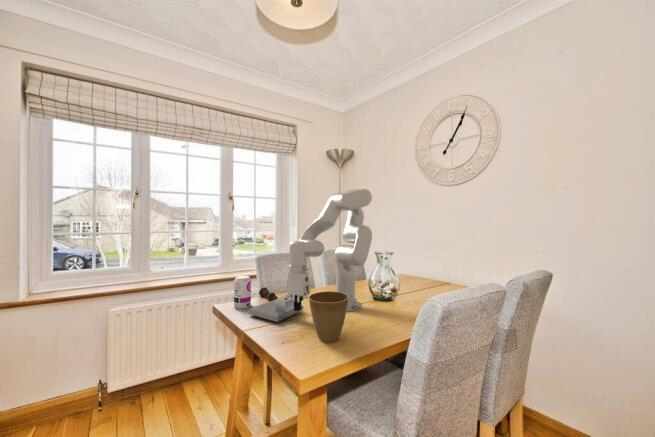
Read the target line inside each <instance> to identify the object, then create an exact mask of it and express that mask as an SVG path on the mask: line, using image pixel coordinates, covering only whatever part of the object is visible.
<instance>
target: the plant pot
mask: <svg viewBox="0 0 655 437" xmlns="http://www.w3.org/2000/svg"><path fill="white" fill-rule="evenodd" d="M308 301H309V309H310V313H311V317H312V321H313V326H314V328H315V331H316V334H317V337H318V340H320V342H323V343H335V342H337V341H338V340H339V339H340V336H341V333H342V330H343V326H344V324H345V323H344V322H345V320H346V319H345V318H346V314H347V311H346V310H347V304H348V295H346V294H344V293H340V292H336V291H332V290H331V291H330V290H329V291H320V292H319V291H318V292H315V293H312V294H309V295H308Z"/></svg>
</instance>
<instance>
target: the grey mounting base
mask: <svg viewBox="0 0 655 437" xmlns="http://www.w3.org/2000/svg"><path fill="white" fill-rule="evenodd" d="M285 296H286V297H290V296H289V295H288V293H287V294H285ZM291 298H292V297H291ZM302 311H304V305H302V304H301V310H300V311H294V310H291V311H289V312H287V313H284V312H280V311H276V300H273V301H267V302H265V303H262V304H259V305H256V306H254V307H253V306H252V307H249V308H247V314H248V315H251V316H254V317H259V318H262V319H266V320H268V321H274V322H276V323H278V322H280V321H282V320H285V319H287V318H289V317H291V316H293V315H295V314H297V313H300V312H302Z"/></svg>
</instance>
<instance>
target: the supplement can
mask: <svg viewBox="0 0 655 437" xmlns="http://www.w3.org/2000/svg"><path fill="white" fill-rule="evenodd" d="M233 283H234V284H233V307H234V308H235V309H237V308H238V309H237V310H245V309H249V308H251V305H252V278H251V277H250V276H249V275H238V276H235V278H234V280H233Z"/></svg>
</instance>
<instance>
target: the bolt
mask: <svg viewBox="0 0 655 437" xmlns="http://www.w3.org/2000/svg"><path fill="white" fill-rule="evenodd" d="M258 291H259V292H258V295H259V296H260V297H261V298H264V297H265V298H266V299H267V300H268V302H270V301H273V300H276V299H278V298H279V297H278V296H277V295H276V294H275V292H272V291H271V292H270V291H269V289H268V288H267V287H264V286H263V287H261V288H260V289H259V290H258Z"/></svg>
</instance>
